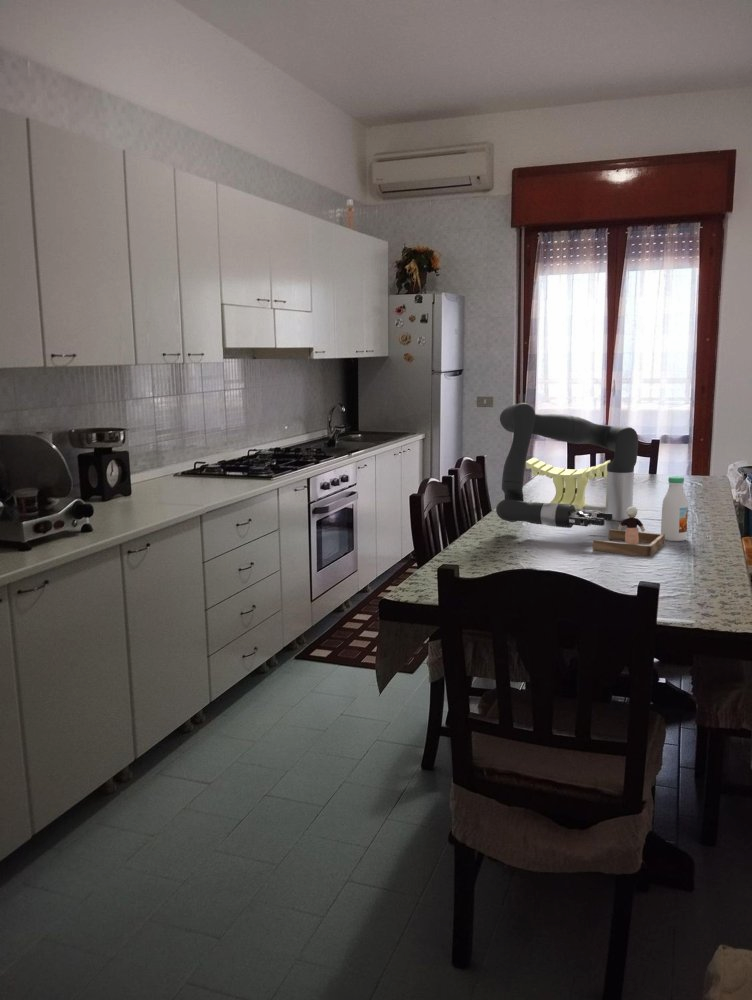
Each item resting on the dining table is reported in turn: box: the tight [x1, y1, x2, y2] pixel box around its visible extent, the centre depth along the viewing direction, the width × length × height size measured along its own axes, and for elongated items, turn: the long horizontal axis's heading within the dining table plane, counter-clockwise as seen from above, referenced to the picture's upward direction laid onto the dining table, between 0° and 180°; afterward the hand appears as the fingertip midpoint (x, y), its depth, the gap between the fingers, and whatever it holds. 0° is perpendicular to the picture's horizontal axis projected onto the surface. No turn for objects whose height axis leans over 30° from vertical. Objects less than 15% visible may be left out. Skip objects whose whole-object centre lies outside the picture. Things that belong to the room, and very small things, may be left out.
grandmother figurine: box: [617, 505, 646, 545], centre depth 243 cm, size 8×4×13 cm, turn 84°
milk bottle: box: [660, 475, 689, 542], centre depth 252 cm, size 8×8×20 cm
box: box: [592, 529, 666, 557], centre depth 244 cm, size 18×17×3 cm
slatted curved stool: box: [525, 457, 611, 510], centre depth 313 cm, size 30×16×18 cm, turn 66°
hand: (608, 519), depth 247 cm, fingers open, 8 cm apart
